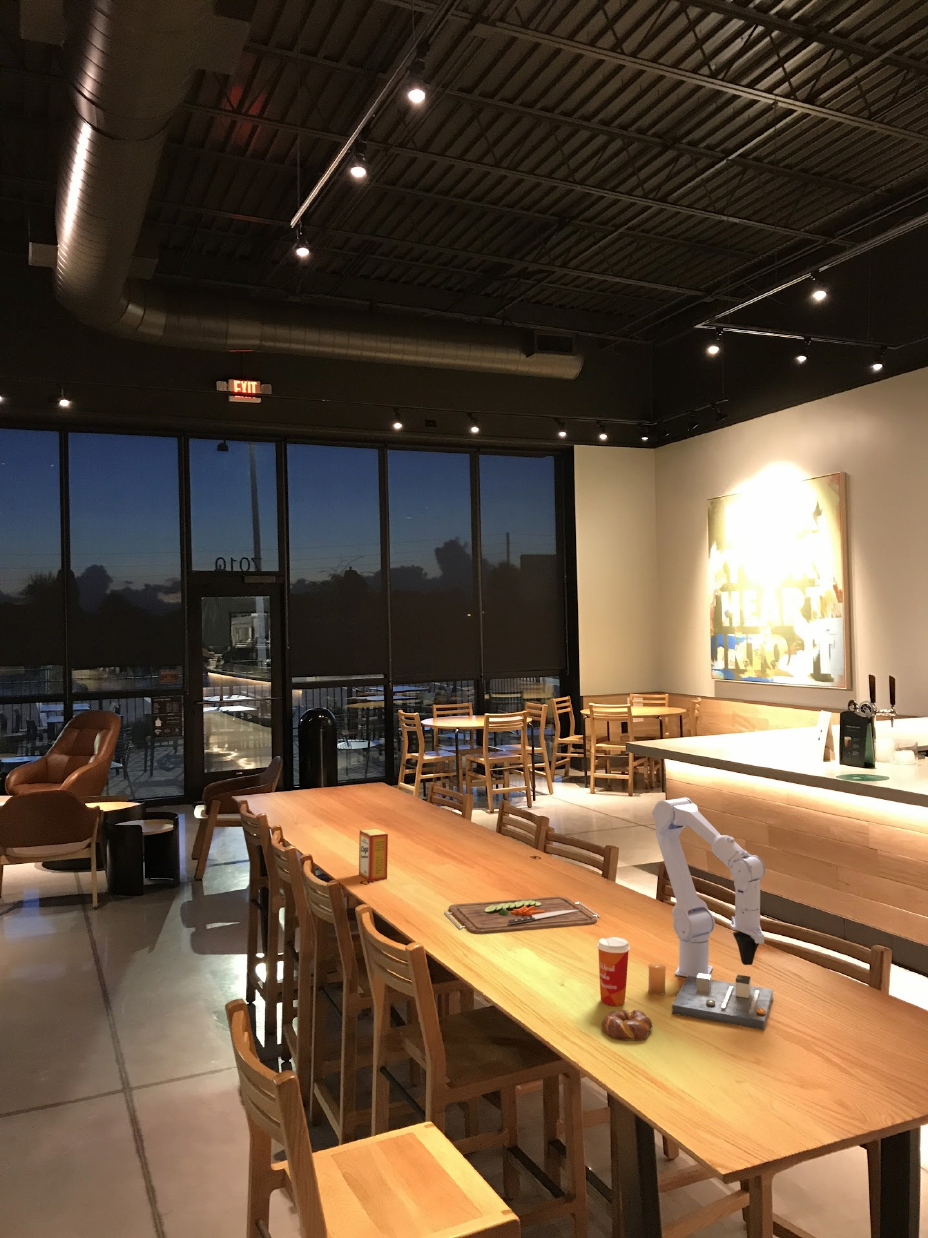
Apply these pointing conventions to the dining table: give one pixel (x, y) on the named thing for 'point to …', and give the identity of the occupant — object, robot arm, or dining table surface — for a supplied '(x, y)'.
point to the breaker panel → (722, 1002)
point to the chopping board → (520, 915)
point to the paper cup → (613, 970)
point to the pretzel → (627, 1025)
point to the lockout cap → (656, 978)
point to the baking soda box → (373, 854)
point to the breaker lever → (743, 986)
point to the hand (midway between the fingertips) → (747, 964)
